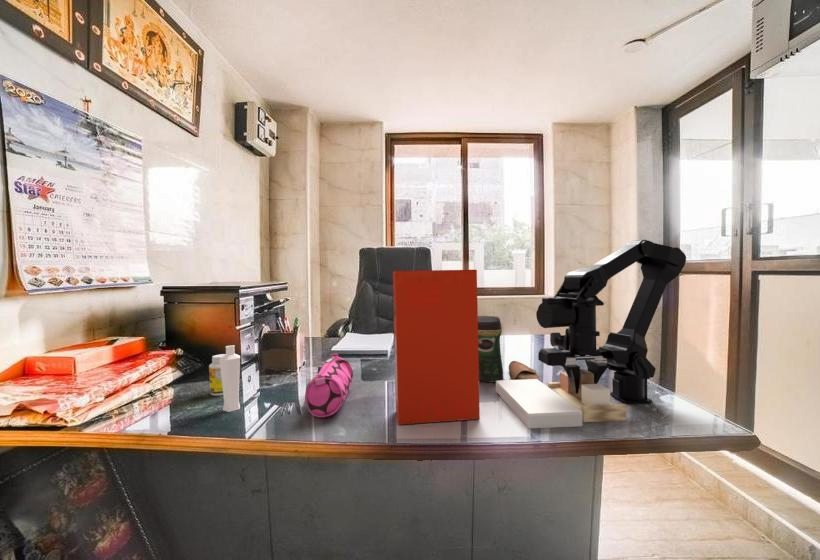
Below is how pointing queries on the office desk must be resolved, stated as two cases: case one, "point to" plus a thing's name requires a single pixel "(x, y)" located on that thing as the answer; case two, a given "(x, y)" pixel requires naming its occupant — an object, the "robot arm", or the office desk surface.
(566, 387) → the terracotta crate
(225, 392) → the white plastic bottle
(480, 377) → the coffee jar
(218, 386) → the supplement bottle
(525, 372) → the sunglasses case
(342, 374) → the pencil case
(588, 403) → the cream crate
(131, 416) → the office desk surface
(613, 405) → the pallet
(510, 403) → the white flat block
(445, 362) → the file binder
